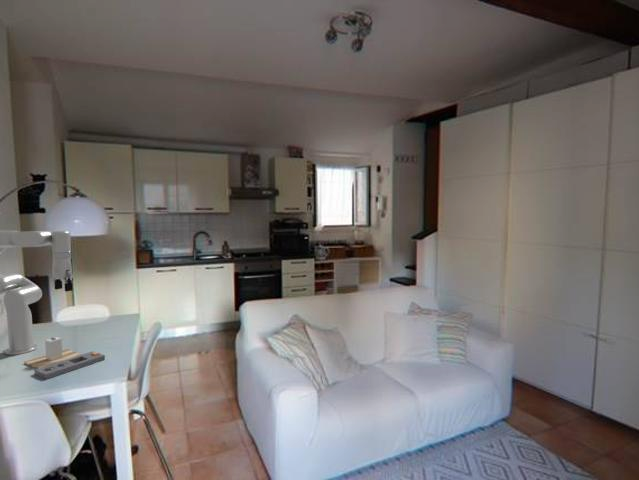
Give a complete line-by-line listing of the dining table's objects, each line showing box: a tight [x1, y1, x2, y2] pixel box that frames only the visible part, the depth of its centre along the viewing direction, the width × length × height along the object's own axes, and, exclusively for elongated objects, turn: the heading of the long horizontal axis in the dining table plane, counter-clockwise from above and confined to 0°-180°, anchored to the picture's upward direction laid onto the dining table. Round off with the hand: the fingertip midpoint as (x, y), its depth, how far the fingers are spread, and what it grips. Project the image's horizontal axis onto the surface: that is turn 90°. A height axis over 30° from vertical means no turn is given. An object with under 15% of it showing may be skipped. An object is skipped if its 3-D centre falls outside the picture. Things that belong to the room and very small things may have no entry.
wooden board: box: [24, 348, 83, 369], centre depth 171 cm, size 14×18×1 cm
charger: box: [44, 336, 63, 361], centre depth 171 cm, size 5×5×10 cm
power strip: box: [33, 351, 106, 380], centre depth 164 cm, size 10×24×3 cm, turn 150°
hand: (63, 289), depth 183 cm, fingers open, 9 cm apart
